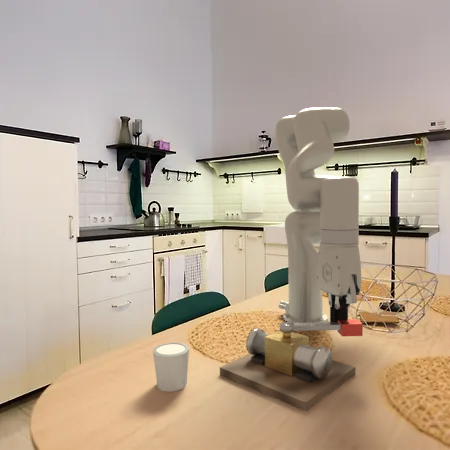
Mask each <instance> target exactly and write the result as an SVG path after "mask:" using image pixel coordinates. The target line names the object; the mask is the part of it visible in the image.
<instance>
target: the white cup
mask: <svg viewBox="0 0 450 450" xmlns="http://www.w3.org/2000/svg"><path fill="white" fill-rule="evenodd" d="M152 353H153V362H154V363H153V364H154V372H155V377H156V378H155V379H156V386H157V389H159V391H162V392H169V393H170V392H177V391H180V390H183V389H184V388H185V387H186V386H187V384H188V371H189V356H190V347H189V345H187V344H185V343H182V342H167V343H166V342H165V343H162V344H159V345H157V346H155V347H154V348H153V349H152Z"/></svg>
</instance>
